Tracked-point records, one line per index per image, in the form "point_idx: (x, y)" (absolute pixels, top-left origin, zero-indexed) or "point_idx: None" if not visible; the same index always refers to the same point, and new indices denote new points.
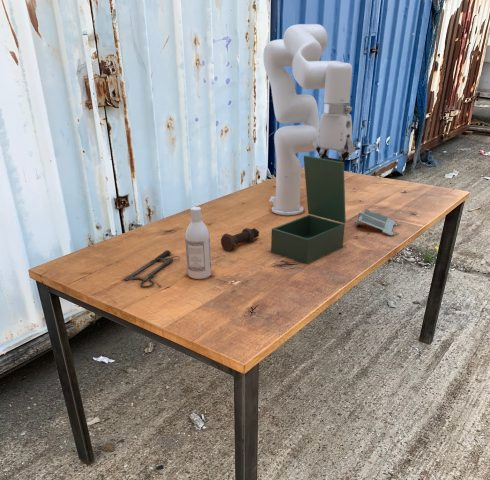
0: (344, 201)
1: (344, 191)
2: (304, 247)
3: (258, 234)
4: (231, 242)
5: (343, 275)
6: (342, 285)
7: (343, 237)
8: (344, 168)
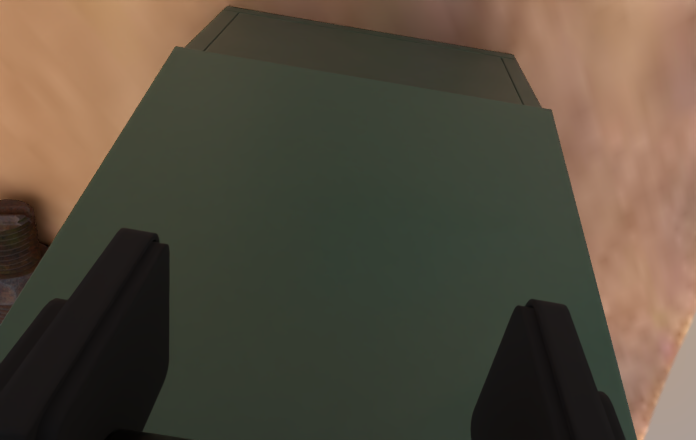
0: (583, 252)
1: (609, 341)
2: None
3: (30, 217)
4: None
5: (623, 354)
6: (641, 420)
7: (525, 78)
8: (610, 402)
